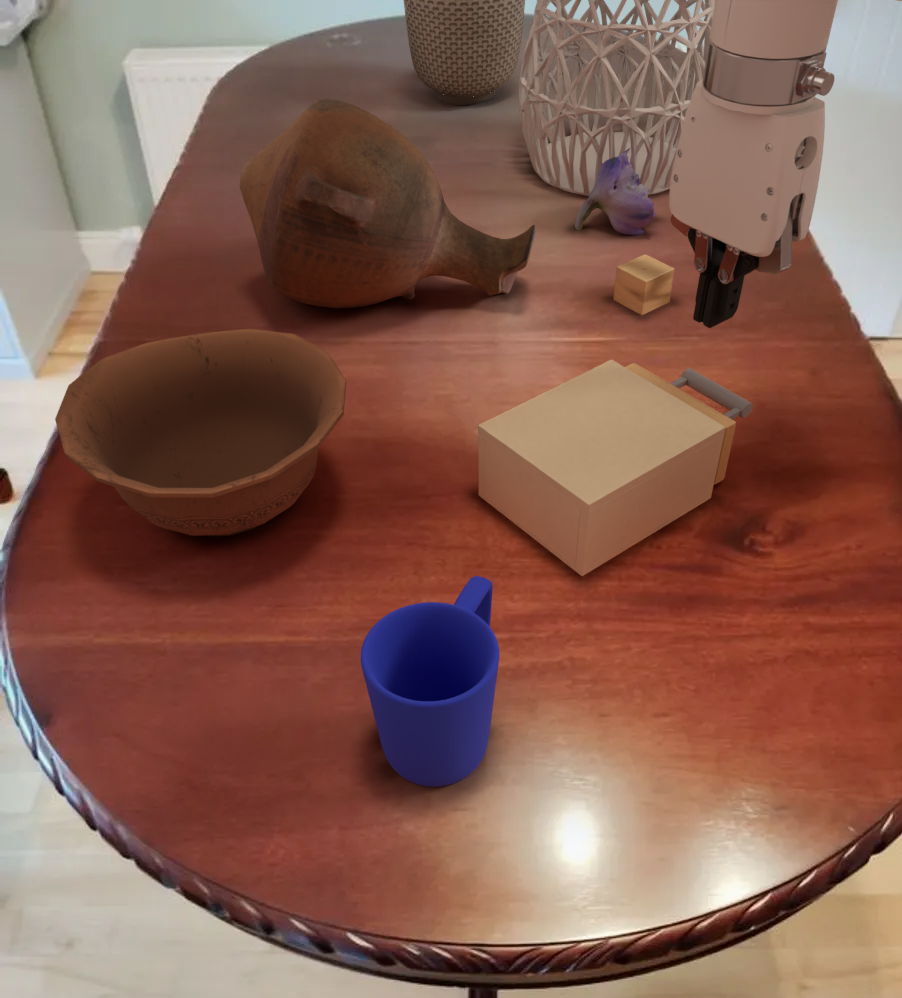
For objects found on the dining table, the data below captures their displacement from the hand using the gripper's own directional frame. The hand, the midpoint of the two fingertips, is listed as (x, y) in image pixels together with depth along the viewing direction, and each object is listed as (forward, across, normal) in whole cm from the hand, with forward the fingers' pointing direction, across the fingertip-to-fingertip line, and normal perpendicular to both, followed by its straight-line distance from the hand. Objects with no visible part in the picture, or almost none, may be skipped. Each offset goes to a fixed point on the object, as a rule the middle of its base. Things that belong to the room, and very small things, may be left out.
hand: (713, 318), depth 80 cm
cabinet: (+12, 0, +12) cm, 17 cm away
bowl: (+13, +19, +36) cm, 42 cm away
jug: (+13, +38, +5) cm, 40 cm away
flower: (+13, +34, -24) cm, 43 cm away
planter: (+13, +80, -38) cm, 89 cm away
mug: (+13, -11, +36) cm, 40 cm away
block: (+12, +20, -14) cm, 27 cm away
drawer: (+11, 0, +7) cm, 13 cm away
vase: (+13, +47, -36) cm, 60 cm away
